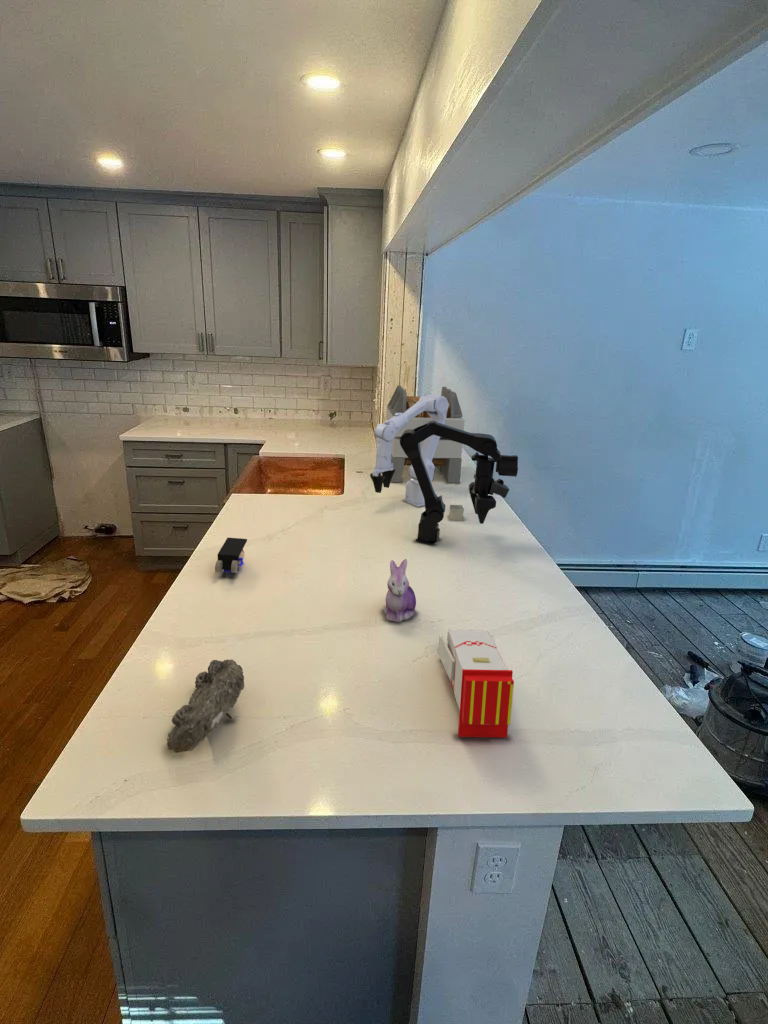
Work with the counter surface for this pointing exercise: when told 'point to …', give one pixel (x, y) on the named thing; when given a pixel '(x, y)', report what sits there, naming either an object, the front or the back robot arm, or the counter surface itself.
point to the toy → (478, 682)
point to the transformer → (446, 450)
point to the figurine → (399, 594)
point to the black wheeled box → (230, 556)
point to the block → (456, 512)
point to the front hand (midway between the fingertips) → (479, 518)
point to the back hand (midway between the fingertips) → (382, 489)
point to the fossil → (206, 705)
